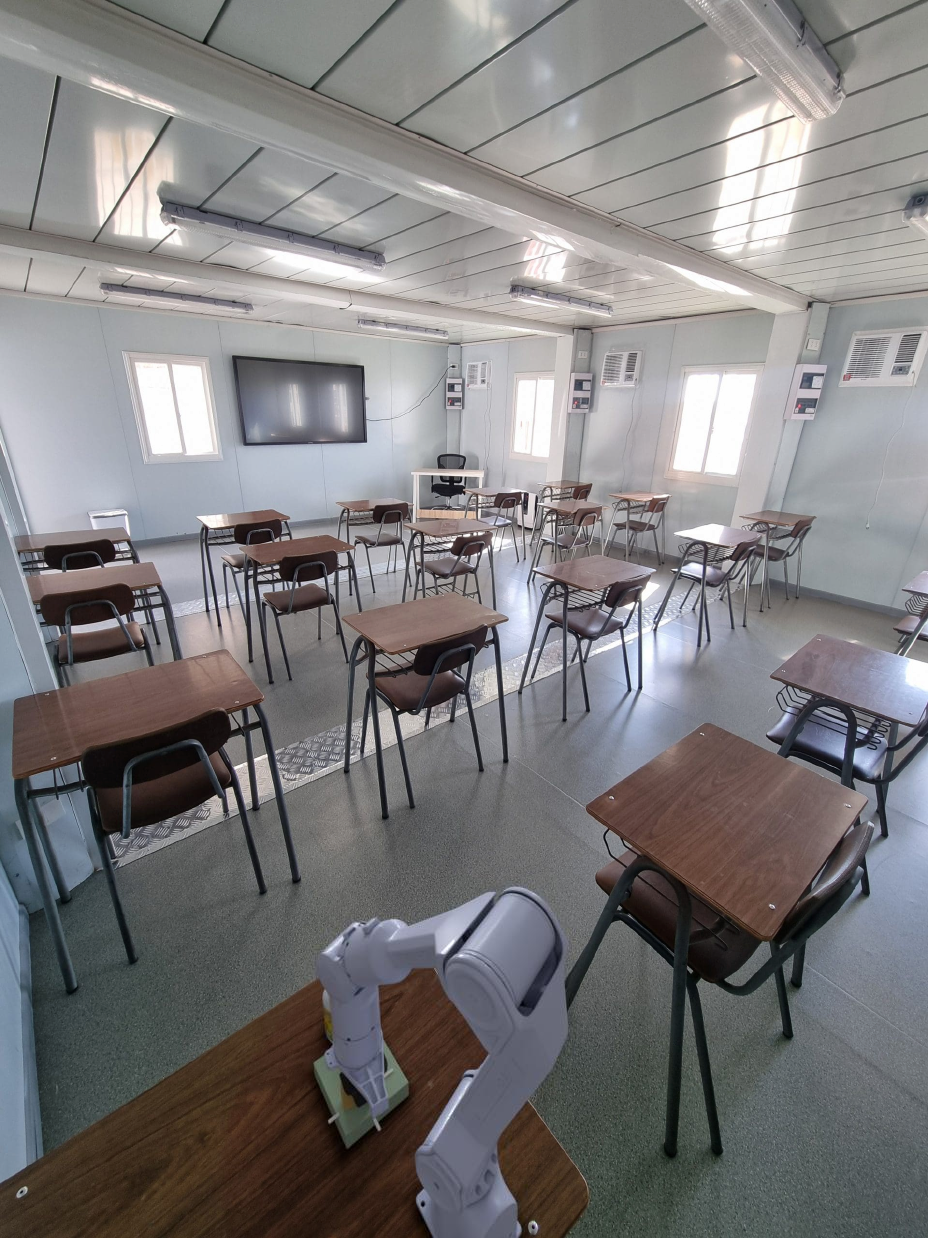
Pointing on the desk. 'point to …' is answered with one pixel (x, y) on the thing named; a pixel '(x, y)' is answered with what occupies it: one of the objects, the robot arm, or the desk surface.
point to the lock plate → (360, 1119)
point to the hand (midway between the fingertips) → (361, 1093)
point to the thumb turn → (346, 1099)
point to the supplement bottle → (327, 1016)
